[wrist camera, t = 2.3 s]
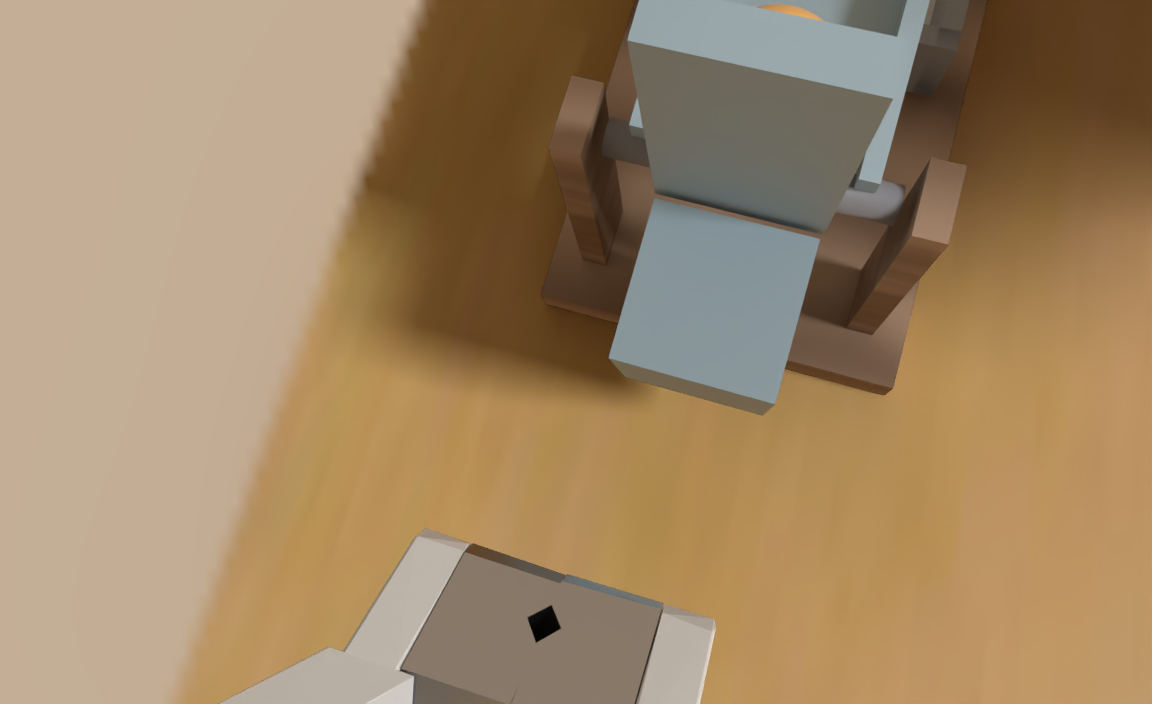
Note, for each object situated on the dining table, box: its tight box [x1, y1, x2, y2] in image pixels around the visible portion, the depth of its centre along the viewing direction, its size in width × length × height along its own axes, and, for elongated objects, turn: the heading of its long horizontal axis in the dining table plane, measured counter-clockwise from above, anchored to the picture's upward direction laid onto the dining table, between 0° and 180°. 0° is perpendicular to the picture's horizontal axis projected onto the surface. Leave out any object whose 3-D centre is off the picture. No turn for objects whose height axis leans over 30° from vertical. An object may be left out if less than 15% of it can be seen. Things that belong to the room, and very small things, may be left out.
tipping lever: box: [602, 0, 930, 416], centre depth 26 cm, size 18×9×16 cm, turn 163°
